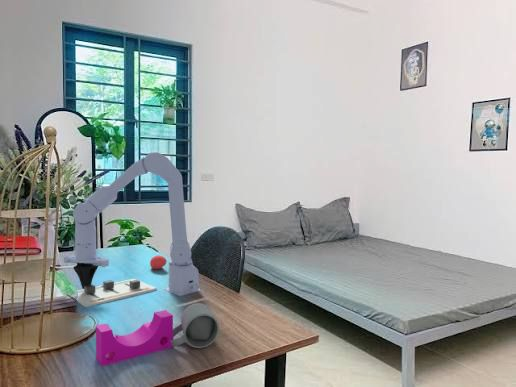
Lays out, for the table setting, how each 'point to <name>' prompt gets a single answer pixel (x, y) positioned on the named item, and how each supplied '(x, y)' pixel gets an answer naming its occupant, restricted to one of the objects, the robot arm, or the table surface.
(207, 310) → the ceramic mug
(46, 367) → the table surface
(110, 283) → the tab
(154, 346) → the toy block
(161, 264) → the stress ball
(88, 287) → the tab
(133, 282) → the tab
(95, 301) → the switch panel
